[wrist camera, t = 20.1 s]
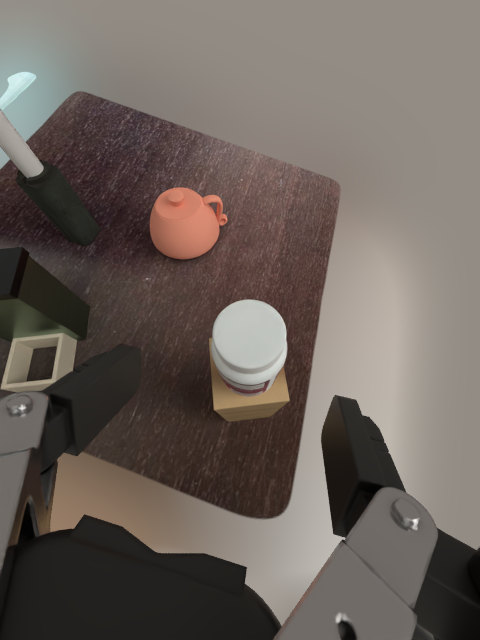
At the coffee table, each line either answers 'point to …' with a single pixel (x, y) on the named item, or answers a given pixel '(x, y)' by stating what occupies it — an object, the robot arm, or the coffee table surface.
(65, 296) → the dispenser
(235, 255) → the coffee table surface
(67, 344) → the dock
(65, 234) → the candle
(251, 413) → the stand
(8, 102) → the coffee table surface
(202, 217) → the sugar bowl
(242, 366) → the pill bottle
